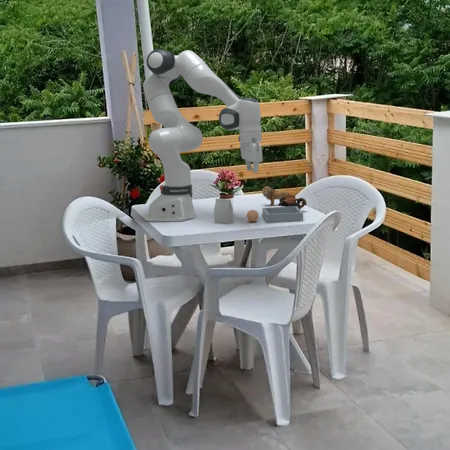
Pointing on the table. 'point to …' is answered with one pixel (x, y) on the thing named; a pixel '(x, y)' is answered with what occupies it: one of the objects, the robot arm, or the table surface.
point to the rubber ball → (252, 215)
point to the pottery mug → (292, 201)
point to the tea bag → (223, 211)
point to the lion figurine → (274, 194)
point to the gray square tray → (282, 214)
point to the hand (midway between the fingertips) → (252, 171)
